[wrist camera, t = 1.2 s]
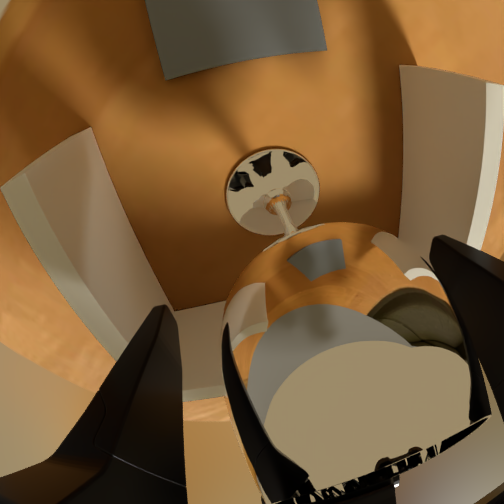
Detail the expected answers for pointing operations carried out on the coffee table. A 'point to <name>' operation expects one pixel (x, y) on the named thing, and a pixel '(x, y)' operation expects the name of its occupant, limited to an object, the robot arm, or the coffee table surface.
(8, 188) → the corner wall
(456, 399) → the wineglass
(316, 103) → the coffee table surface
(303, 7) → the felt mat
